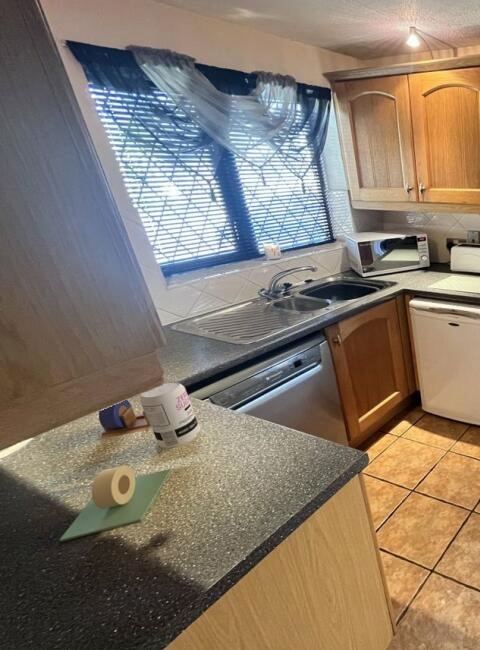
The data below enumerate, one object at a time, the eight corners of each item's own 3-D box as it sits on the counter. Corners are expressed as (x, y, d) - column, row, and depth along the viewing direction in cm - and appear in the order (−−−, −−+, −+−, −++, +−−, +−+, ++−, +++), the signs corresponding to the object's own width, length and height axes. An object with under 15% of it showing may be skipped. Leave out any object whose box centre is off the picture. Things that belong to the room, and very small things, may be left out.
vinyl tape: (106, 436, 97) (94, 411, 94) (122, 419, 103) (111, 395, 100) (121, 433, 98) (110, 408, 95) (136, 416, 104) (125, 392, 101)
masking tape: (101, 517, 75) (85, 488, 72) (122, 489, 81) (108, 461, 79) (121, 512, 76) (106, 483, 73) (139, 485, 82) (126, 457, 80)
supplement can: (159, 439, 97) (137, 388, 91) (200, 424, 102) (181, 376, 97) (160, 456, 91) (137, 403, 86) (203, 440, 96) (183, 389, 91)
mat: (60, 542, 71) (59, 540, 70) (103, 486, 83) (102, 484, 83) (141, 520, 75) (140, 519, 74) (171, 470, 87) (170, 468, 87)
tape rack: (99, 442, 96) (91, 426, 94) (118, 421, 104) (111, 406, 102) (149, 432, 99) (142, 416, 97) (164, 413, 107) (157, 397, 105)
